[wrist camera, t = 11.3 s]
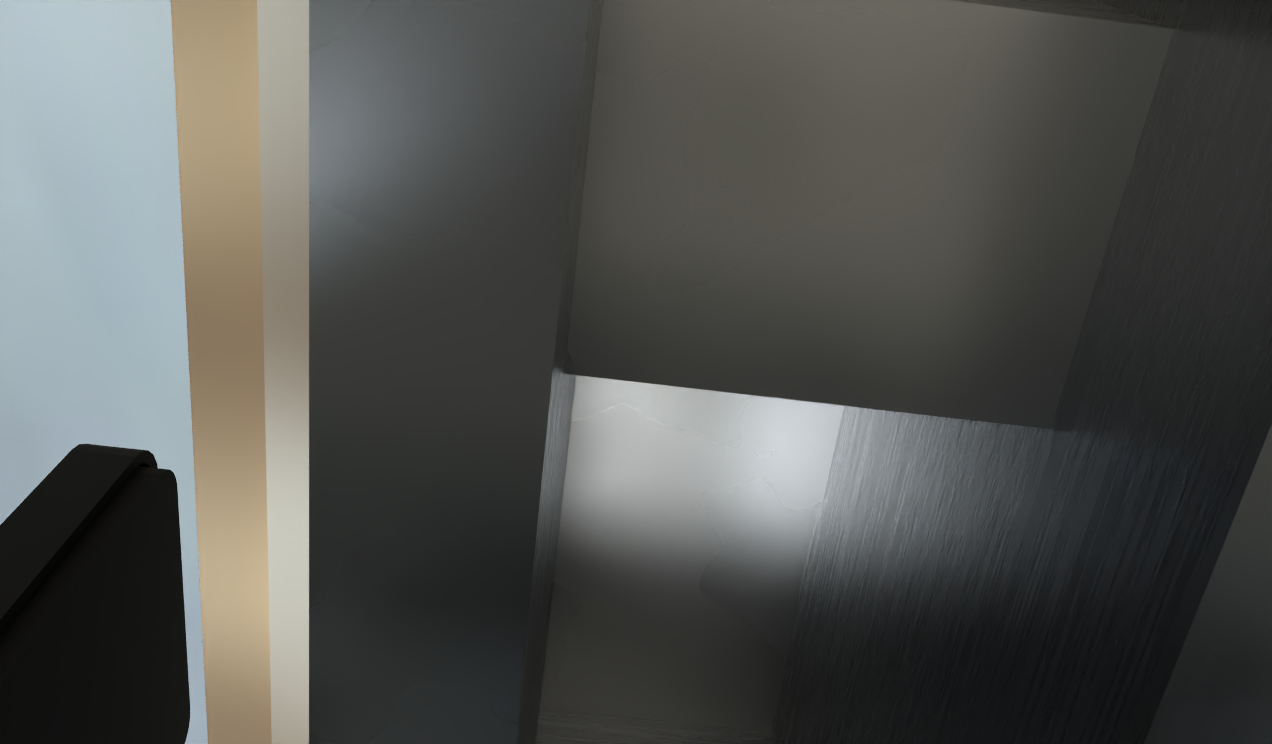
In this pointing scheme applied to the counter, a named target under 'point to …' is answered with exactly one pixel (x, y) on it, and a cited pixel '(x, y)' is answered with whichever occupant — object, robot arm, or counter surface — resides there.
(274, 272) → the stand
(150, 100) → the counter surface
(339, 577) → the housing
